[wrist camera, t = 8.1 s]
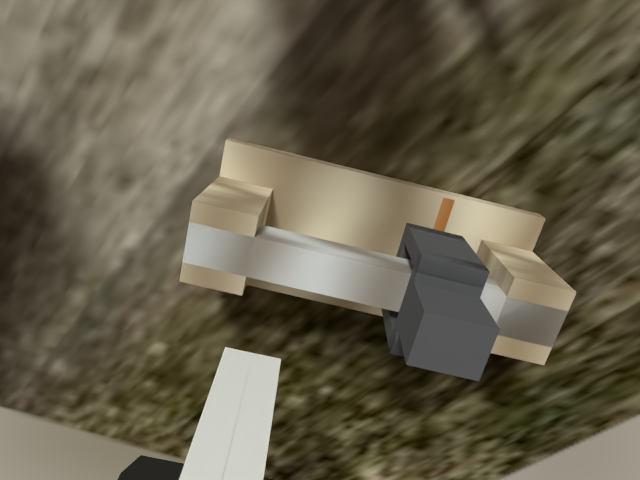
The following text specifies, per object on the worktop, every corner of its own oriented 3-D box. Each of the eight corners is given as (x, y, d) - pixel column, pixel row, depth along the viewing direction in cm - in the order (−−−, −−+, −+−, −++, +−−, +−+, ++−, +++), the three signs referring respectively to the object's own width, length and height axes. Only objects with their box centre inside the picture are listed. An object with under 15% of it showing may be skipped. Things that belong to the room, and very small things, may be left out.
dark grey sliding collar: (380, 306, 28) (397, 391, 20) (406, 222, 26) (434, 282, 19) (433, 318, 28) (468, 406, 20) (462, 236, 26) (511, 300, 19)
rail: (206, 268, 30) (171, 320, 24) (229, 138, 28) (198, 158, 22) (490, 334, 31) (530, 402, 25) (538, 213, 29) (596, 254, 22)
